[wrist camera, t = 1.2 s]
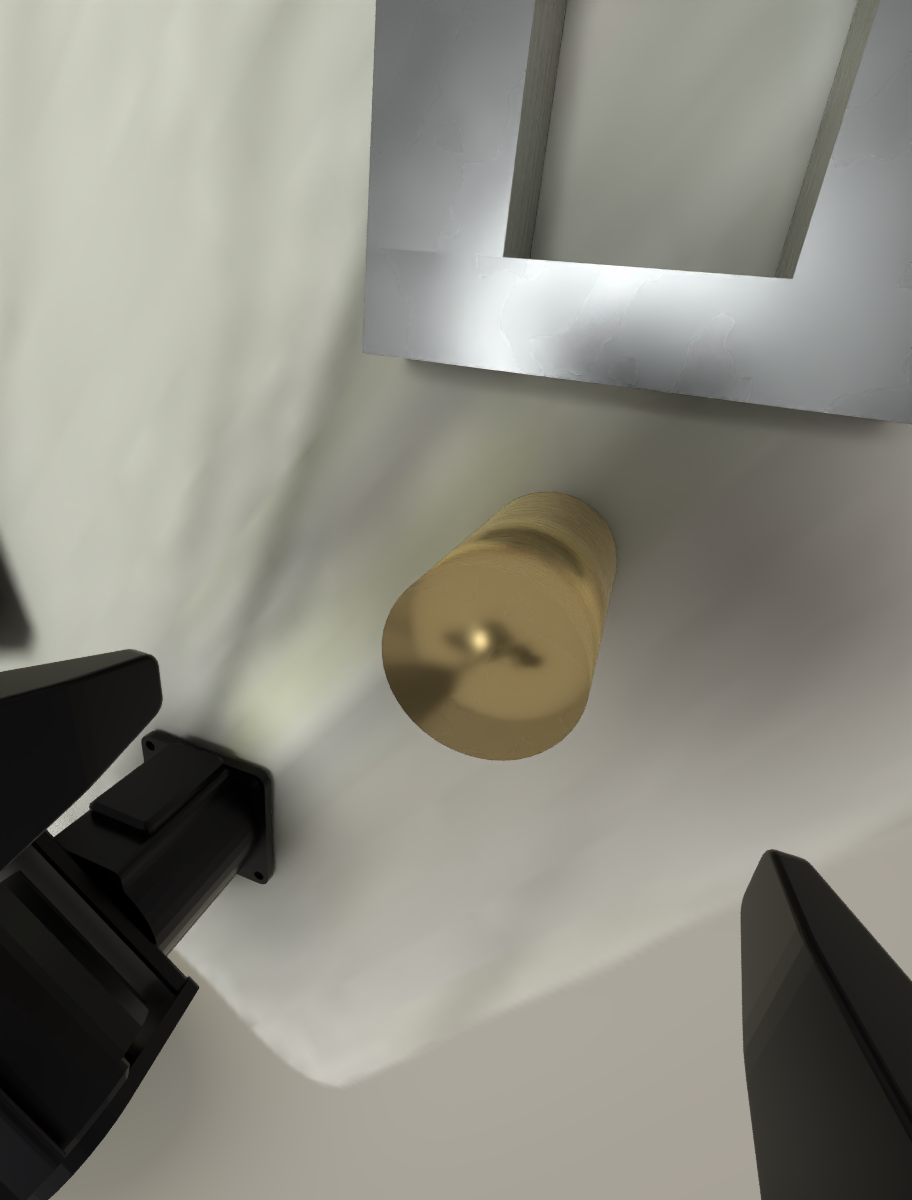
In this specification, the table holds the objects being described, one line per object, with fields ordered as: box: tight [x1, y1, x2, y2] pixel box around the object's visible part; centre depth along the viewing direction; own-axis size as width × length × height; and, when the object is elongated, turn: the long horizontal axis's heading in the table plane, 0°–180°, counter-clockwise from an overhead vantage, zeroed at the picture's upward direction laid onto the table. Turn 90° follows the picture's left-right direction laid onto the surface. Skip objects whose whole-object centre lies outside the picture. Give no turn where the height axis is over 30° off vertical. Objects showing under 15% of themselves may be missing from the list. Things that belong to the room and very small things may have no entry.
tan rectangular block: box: [382, 492, 617, 760], centre depth 13 cm, size 4×4×7 cm
